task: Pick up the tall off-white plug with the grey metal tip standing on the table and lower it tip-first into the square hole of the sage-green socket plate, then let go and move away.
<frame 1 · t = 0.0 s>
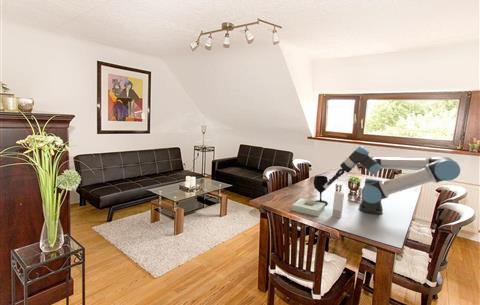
hand: (326, 185, 187), 16 cm above the table, tool tilted 35°, fingers open, 13 cm apart
wine glass: (320, 203, 197), on the table, touching gripper
socket plate: (308, 209, 182), on the table
plug: (336, 216, 172), on the table
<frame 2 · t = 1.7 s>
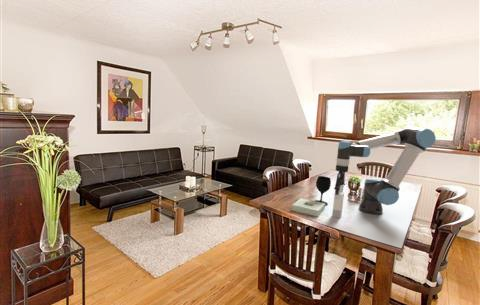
hand: (338, 196, 170), 13 cm above the table, tool pointing down, fingers open, 13 cm apart
wine glass: (320, 203, 196), on the table
everything else where it was.
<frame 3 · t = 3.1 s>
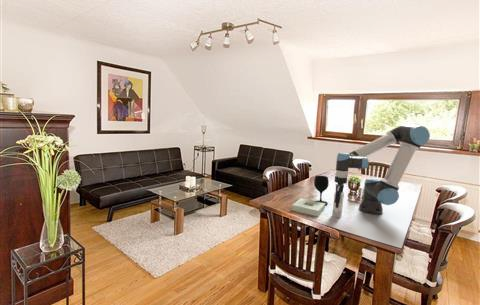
hand: (337, 210, 172), 4 cm above the table, tool pointing down, fingers closed on plug, 5 cm apart
plug: (336, 216, 172), on the table, touching gripper
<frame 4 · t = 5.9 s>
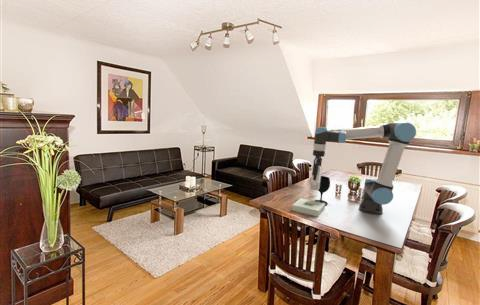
hand: (315, 183, 177), 19 cm above the table, tool pointing down, fingers closed on plug, 5 cm apart
plug: (314, 189, 178), point 16 cm above the table, touching gripper
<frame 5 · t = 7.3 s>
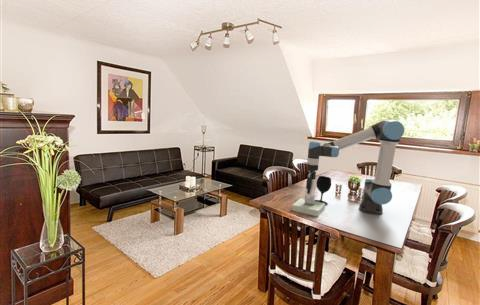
hand: (309, 196, 181), 9 cm above the table, tool pointing down, fingers closed on plug, 5 cm apart
plug: (309, 201, 181), point 6 cm above the table, touching gripper
when the fingers open (5 cm above the table, at t = 8.5 s): plug drops 1 cm, resting in socket plate.
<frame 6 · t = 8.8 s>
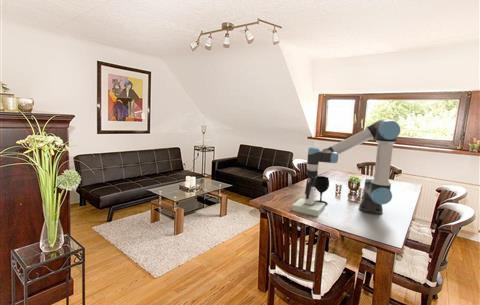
hand: (309, 201, 181), 6 cm above the table, tool pointing down, fingers open, 9 cm apart
plug: (308, 209, 182), resting in socket plate
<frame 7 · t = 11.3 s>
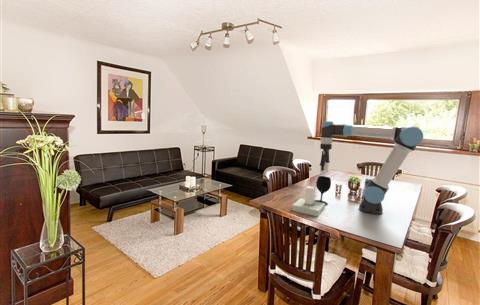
hand: (324, 173, 184), 25 cm above the table, tool pointing down, fingers open, 13 cm apart
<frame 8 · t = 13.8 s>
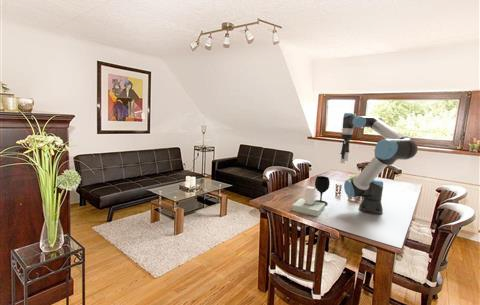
hand: (344, 161, 197), 32 cm above the table, tool pointing down, fingers open, 13 cm apart
at the end: plug 0.0 cm off-centre on the socket plate, point 0.0 cm above the socket plate's base; plug tilted 0°; the gripper is holding nothing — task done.
